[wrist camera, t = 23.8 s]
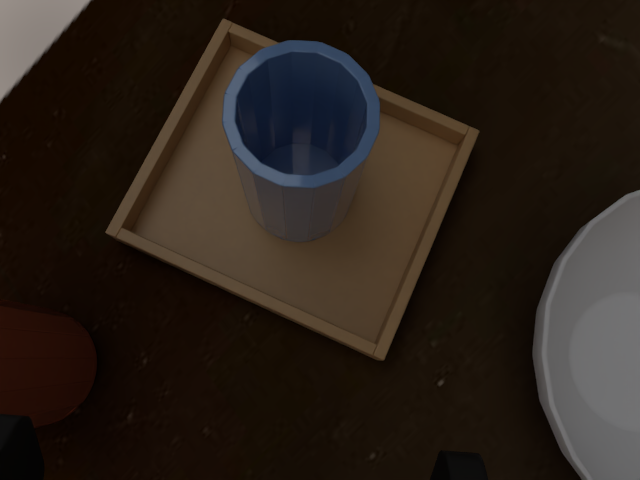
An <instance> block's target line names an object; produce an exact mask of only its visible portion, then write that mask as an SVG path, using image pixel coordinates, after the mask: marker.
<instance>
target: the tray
mask: <svg viewBox="0 0 640 480" xmlns="http://www.w3.org/2000/svg"><path fill="white" fill-rule="evenodd" d="M275 44H278V42H275V41H273V40H271V39H269V38H266V37H264V36H262V35H259V34H257V33H255V32H253V31H250V30H248V29H246V28H243V27H241V26H239V25H237V24H234V23H232V22H230V21H228V20H226V19H222V21H221V23H220V25H219V27H218V28H217V30H216V32H215V34H214V36H213V37H212V39H211V41H210V43H209V45H208V47H207V48H206V50H205V52H204V54H203V56H202V57H201V59H200V61H199V63H198V65H197V67H196V68H195V70H194V72H193V74H192V76H191V77H190V79H189V81H188V83H187V85H186V87H185V88H184V90H183V92H182V94H181V96H180V97H179V99H178V101H177V103H176V105H175V107H174V108H173V110H172V112H171V114H170V116H169V117H168V119H167V121H166V123H165V125H164V127H163V128H162V130H161V132H160V134H159V136H158V137H157V139H156V141H155V143H154V145H153V146H152V148H151V150H150V152H149V154H148V156H147V157H146V159H145V161H144V163H143V165H142V166H141V168H140V170H139V172H138V174H137V176H136V177H135V179H134V181H133V183H132V185H131V186H130V188H129V190H128V192H127V194H126V196H125V197H124V199H123V201H122V203H121V205H120V206H119V208H118V210H117V212H116V214H115V216H114V217H113V219H112V221H111V223H110V225H109V226H108V228H107V230H106V232H105V233H106V234H108V235H109V236H111V237H112V238H114V239H115V240H117V241H119V242H121V243H123V244H125V245H128V246H130V247H132V248H134V249H136V250H139V251H141V252H143V253H145V254H147V255H149V256H152V257H154V258H156V259H158V260H160V261H162V262H165V263H167V264H169V265H171V266H173V267H175V268H178V269H180V270H182V271H184V272H186V273H189V274H191V275H193V276H195V277H197V278H199V279H202V280H204V281H206V282H208V283H210V284H212V285H215V286H217V287H219V288H221V289H223V290H226V291H228V292H230V293H232V294H234V295H236V296H239V297H241V298H243V299H245V300H247V301H249V302H252V303H254V304H256V305H258V306H260V307H262V308H265V309H267V310H269V311H271V312H273V313H276V314H278V315H280V316H282V317H284V318H286V319H289V320H291V321H293V322H295V323H297V324H299V325H302V326H304V327H306V328H308V329H310V330H313V331H315V332H317V333H319V334H321V335H323V336H326V337H328V338H330V339H332V340H334V341H336V342H339V343H341V344H343V345H345V346H347V347H350V348H352V349H354V350H356V351H358V352H360V353H363V354H365V355H367V356H369V357H371V358H373V359H376V360H385V357H386V355H387V352H388V350H389V348H390V345H391V343H392V340H393V338H394V336H395V333H396V331H397V328H398V326H399V324H400V321H401V319H402V316H403V314H404V312H405V309H406V307H407V304H408V302H409V300H410V297H411V295H412V292H413V290H414V288H415V285H416V283H417V280H418V278H419V276H420V273H421V271H422V268H423V266H424V264H425V261H426V259H427V256H428V254H429V252H430V249H431V247H432V244H433V242H434V240H435V237H436V235H437V232H438V230H439V228H440V225H441V223H442V220H443V218H444V216H445V213H446V211H447V208H448V206H449V204H450V201H451V199H452V196H453V194H454V192H455V189H456V187H457V184H458V182H459V180H460V177H461V175H462V172H463V170H464V168H465V165H466V163H467V160H468V158H469V156H470V153H471V151H472V148H473V146H474V144H475V141H476V139H477V136H478V134H479V130H477V129H475V128H472V127H469V126H468V125H465V124H463V123H461V122H459V121H456V120H454V119H452V118H449V117H447V116H445V115H443V114H440V113H438V112H436V111H433V110H431V109H429V108H427V107H424V106H422V105H420V104H417V103H415V102H413V101H411V100H408V99H406V98H404V97H401V96H399V95H397V94H395V93H392V92H390V91H388V90H385V89H383V88H381V87H378V86H376V85H374V84H373V86H374V88H375V91H376V93H377V96H378V98H379V100H380V130H379V134H378V137H377V139H376V142H375V145H374V147H373V150H372V152H371V155H370V158H369V160H368V163H367V166H366V168H365V171H364V174H363V176H362V179H361V182H360V184H359V187H358V189H357V192H356V195H355V197H354V200H353V202H352V204H351V207H350V209H349V211H348V213H347V215H346V217H345V219H344V220H343V221H342V223H341V224H340V225H339V226H338V227H337V228H336V229H335V230H333V231H332V232H331V233H329V234H327V235H326V236H324V237H322V238H319V239H316V240H313V241H308V242H291V241H286V240H283V239H280V238H277V237H275V236H273V235H271V234H270V233H268V232H267V231H266V230H264V229H263V228H262V227H261V226H260V225H259V224H258V223H257V221H256V220H255V219H254V217H253V216H252V214H251V212H250V210H249V207H248V204H247V201H246V199H245V196H244V193H243V190H242V186H241V183H240V180H239V177H238V174H237V170H236V167H235V164H234V161H233V158H232V154H231V151H230V148H229V145H228V142H227V138H226V135H225V132H224V129H223V126H222V113H223V99H224V94H225V91H226V89H227V87H228V85H229V83H230V81H231V80H232V78H233V76H234V74H235V72H236V70H237V69H238V68H239V66H241V65H242V64H243V63H244V62H246V61H247V60H248V59H249V58H251V57H252V56H253V55H254V54H256V53H257V52H258V51H259V50H261V49H263V48H266V47H269V46H272V45H275Z"/></svg>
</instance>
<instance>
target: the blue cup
mask: <svg viewBox="0 0 640 480" xmlns="http://www.w3.org/2000/svg"><path fill="white" fill-rule="evenodd" d="M222 126H223V129H224V132H225V135H226V138H227V142H228V145H229V148H230V151H231V154H232V158H233V161H234V164H235V167H236V170H237V174H238V177H239V180H240V183H241V186H242V190H243V193H244V196H245V199H246V201H247V204H248V207H249V210H250V212H251V214H252V216H253V217H254V219H255V220H256V221H257V223H258V224H259V225H260V226H261V227H262V228H263V229H264V230H266V231H267V232H268V233H270V234H271V235H273V236H275V237H277V238H280V239H283V240H286V241H291V242H308V241H313V240H316V239H319V238H322V237H324V236H326V235H327V234H329V233H331V232H332V231H333V230H335V229H336V228H337V227H338V226H339V225H340V224H341V223H342V221H343V220H344V219H345V217H346V215H347V213H348V211H349V209H350V207H351V204H352V202H353V200H354V197H355V195H356V192H357V189H358V187H359V184H360V182H361V179H362V176H363V174H364V171H365V168H366V166H367V163H368V160H369V158H370V155H371V152H372V150H373V147H374V145H375V142H376V139H377V137H378V134H379V130H380V100H379V98H378V96H377V93H376V91H375V88H374V86H373V84H372V81H371V79H370V77H369V75H368V74H367V73H366V72H365V71H364V70H363V69H362V68H361V67H360V66H359V65H358V64H357V63H356V62H355V61H354V60H353V59H352V58H351V57H350V56H349V55H348V54H347V53H345V52H342V51H340V50H338V49H336V48H333V47H331V46H329V45H326V44H324V43H322V42H316V41H298V40H290V41H289V40H288V41H285V42H282V43H278V44H275V45H272V46H269V47H266V48H263V49H261V50H259V51H258V52H257V53H256V54H254V55H253V56H252V57H251V58H249V59H248V60H247V61H246V62H244V63H243V64H242V65H241V66H239V68H238V69H237V70H236V72H235V74H234V76H233V78H232V80H231V81H230V83H229V85H228V87H227V89H226V91H225V94H224V99H223V113H222Z"/></svg>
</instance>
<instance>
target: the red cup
mask: <svg viewBox="0 0 640 480" xmlns="http://www.w3.org/2000/svg"><path fill="white" fill-rule="evenodd" d="M96 371H97V355H96V350H95V346H94V343H93V341H92V339H91V337H90V335H89V333H88V332H87V330H86V329H85V328H84V327H83V326H82V325H81V324H80V323H79V322H78V321H77V320H75V319H74V318H72V317H70V316H69V315H67V314H64V313H61V312H58V311H55V310H53V309H48V308H43V307H37V306H32V305H27V304H22V303H17V302H11V301H6V300H1V299H0V414H9V415H21V416H29V417H30V418H31V420H32V422H33V426H34V429H35V430H36V429H39V428H42V427H45V426H47V425H51V424H54V423H56V422H58V421H61V420H63V419H64V418H66V417H67V416H69V415H70V414H71V413H73V412H74V411H75V410H76V409H77V408H78V407H79V406H80V405H81V404H82V403H83V401H84V400H85V399H86V397H87V396H88V394H89V392H90V390H91V388H92V386H93V383H94V380H95V376H96Z"/></svg>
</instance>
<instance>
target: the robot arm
mask: <svg viewBox="0 0 640 480" xmlns="http://www.w3.org/2000/svg"><path fill="white" fill-rule="evenodd" d="M43 477H44V461H43V457H42V454H41V450H40V447H39V443H38V440H37V436H36V433H35V429H34V426H33V422H32V420H31V418H30V417H29V416H21V415H9V414H0V480H43ZM430 480H488V478H487V474H486V470H485V466H484V462H483V459H482V457H481V456H480V454H478V453H467V452H455V451H440V452H439V454H438V457H437V460H436V463H435V466H434V469H433V472H432V475H431V478H430Z"/></svg>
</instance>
